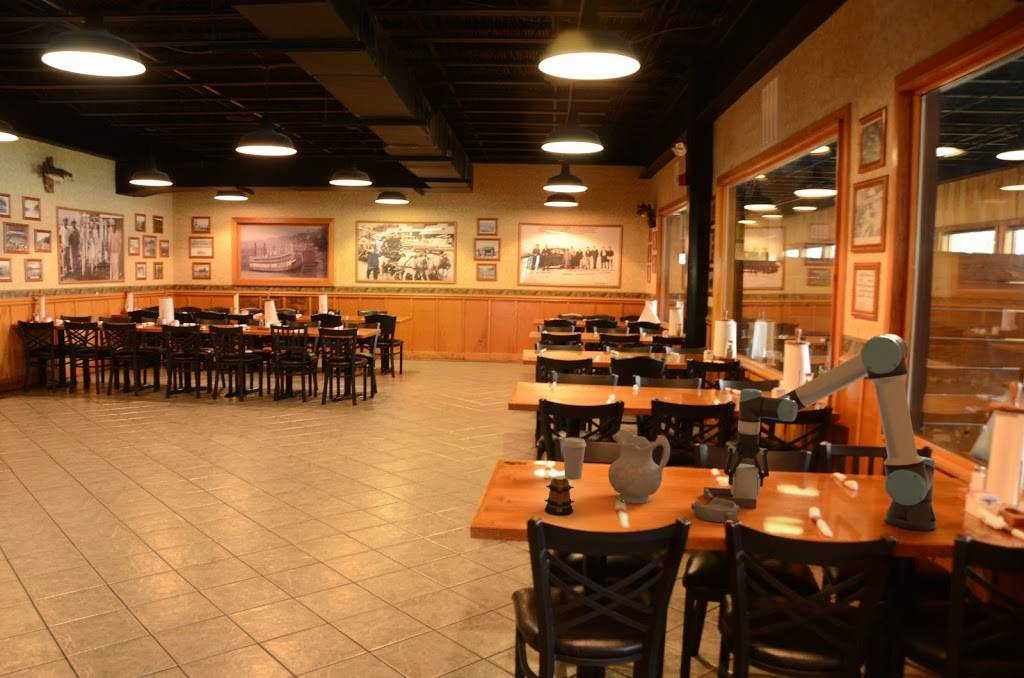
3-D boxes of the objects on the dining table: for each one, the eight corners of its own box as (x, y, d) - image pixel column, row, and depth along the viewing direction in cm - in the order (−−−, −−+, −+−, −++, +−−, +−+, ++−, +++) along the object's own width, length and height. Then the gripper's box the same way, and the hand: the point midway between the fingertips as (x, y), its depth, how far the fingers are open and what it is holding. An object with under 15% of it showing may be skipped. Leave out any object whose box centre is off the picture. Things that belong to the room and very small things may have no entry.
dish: (686, 516, 263) (687, 502, 262) (708, 508, 272) (709, 494, 272) (724, 527, 252) (725, 512, 252) (746, 518, 262) (747, 504, 262)
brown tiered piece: (543, 506, 269) (545, 473, 268) (573, 507, 268) (574, 474, 267) (543, 518, 256) (544, 484, 255) (574, 519, 255) (576, 485, 254)
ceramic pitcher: (670, 498, 286) (673, 431, 285) (666, 510, 267) (669, 437, 267) (611, 492, 292) (614, 426, 291) (603, 503, 273) (606, 432, 272)
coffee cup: (556, 475, 310) (558, 437, 308) (577, 473, 314) (579, 436, 312) (568, 481, 301) (569, 443, 300) (589, 479, 305) (591, 441, 304)
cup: (731, 495, 285) (732, 463, 284) (753, 496, 284) (755, 464, 283) (735, 502, 277) (737, 468, 275) (758, 503, 276) (760, 470, 275)
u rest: (756, 508, 273) (756, 500, 273) (709, 506, 275) (710, 497, 274) (747, 497, 287) (747, 489, 286) (703, 495, 288) (703, 487, 288)
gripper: (775, 431, 281) (771, 493, 283) (716, 428, 282) (713, 490, 285) (781, 435, 273) (777, 499, 276) (720, 433, 275) (717, 496, 277)
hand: (744, 494), depth 280 cm, fingers closed on cup, 8 cm apart
